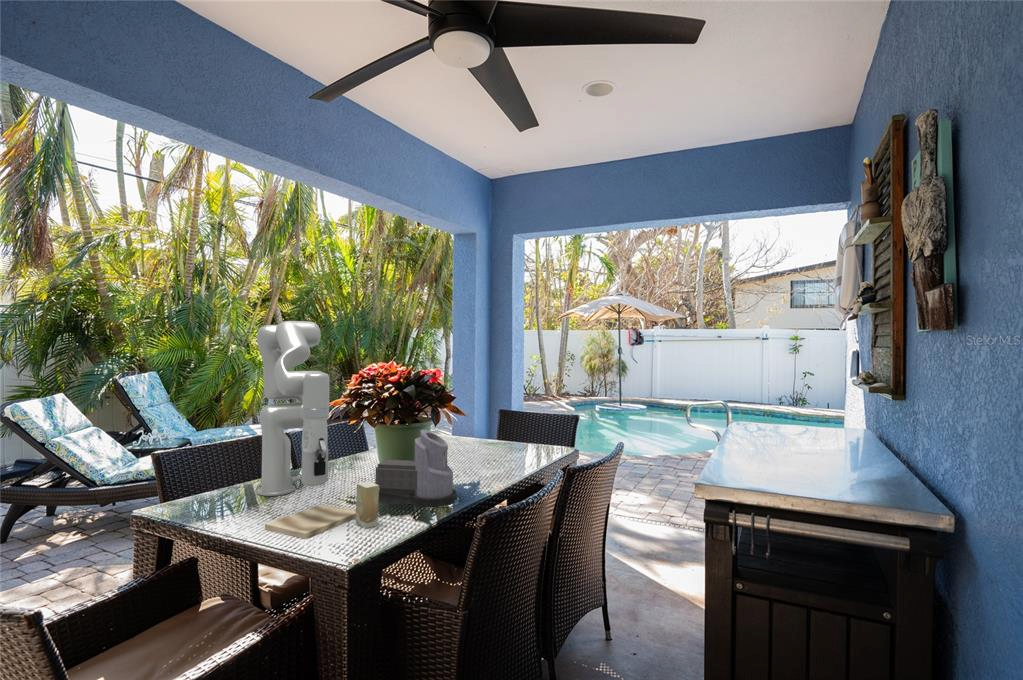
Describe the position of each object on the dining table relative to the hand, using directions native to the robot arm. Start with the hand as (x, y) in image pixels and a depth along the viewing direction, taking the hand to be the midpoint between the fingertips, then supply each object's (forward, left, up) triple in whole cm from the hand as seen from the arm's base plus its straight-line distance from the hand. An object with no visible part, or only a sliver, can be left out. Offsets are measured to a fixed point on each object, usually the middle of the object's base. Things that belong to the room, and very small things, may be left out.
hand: (315, 472), depth 163 cm
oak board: (0, 0, -15) cm, 15 cm away
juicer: (-34, +13, -16) cm, 40 cm away
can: (0, 0, -4) cm, 4 cm away
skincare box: (-6, +15, -15) cm, 22 cm away
